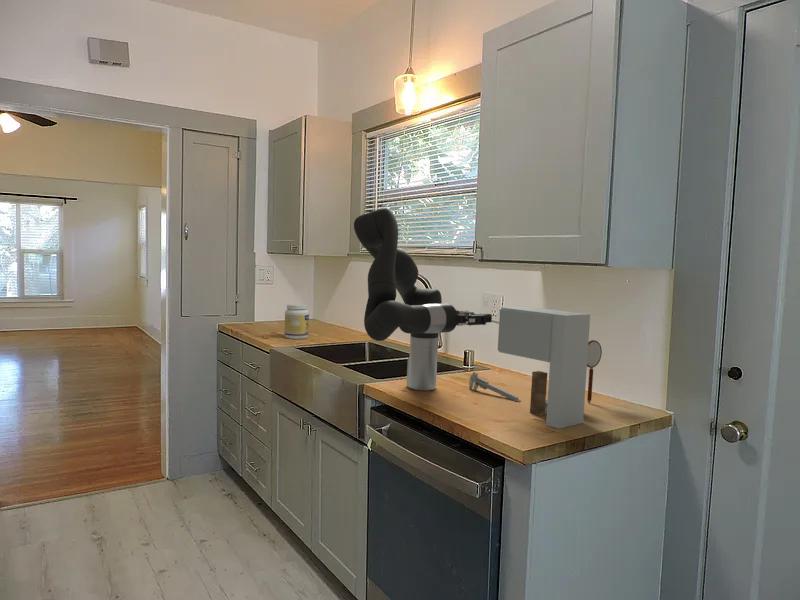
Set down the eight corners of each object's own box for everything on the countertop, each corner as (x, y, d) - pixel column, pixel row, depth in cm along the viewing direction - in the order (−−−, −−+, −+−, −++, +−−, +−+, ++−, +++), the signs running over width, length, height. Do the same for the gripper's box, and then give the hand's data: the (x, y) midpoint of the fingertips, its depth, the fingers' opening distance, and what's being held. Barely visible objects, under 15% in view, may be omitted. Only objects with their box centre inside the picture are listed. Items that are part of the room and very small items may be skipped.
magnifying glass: (582, 405, 178) (586, 341, 176) (578, 404, 179) (582, 340, 178) (599, 402, 183) (604, 339, 181) (595, 401, 184) (599, 339, 183)
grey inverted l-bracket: (494, 409, 169) (499, 307, 166) (520, 404, 176) (526, 306, 174) (557, 429, 152) (564, 315, 149) (583, 422, 159) (590, 314, 156)
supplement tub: (309, 339, 290) (310, 306, 289) (284, 339, 287) (285, 305, 286) (307, 336, 302) (308, 304, 300) (284, 335, 299) (284, 303, 298)
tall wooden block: (529, 412, 167) (532, 371, 166) (547, 409, 172) (549, 369, 171) (538, 415, 165) (540, 373, 164) (555, 411, 170) (558, 371, 169)
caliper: (468, 390, 194) (469, 371, 194) (470, 389, 195) (471, 371, 194) (519, 402, 179) (520, 382, 179) (521, 402, 180) (522, 382, 180)
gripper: (455, 306, 143) (499, 305, 153) (417, 301, 154) (461, 300, 164) (453, 336, 143) (498, 333, 153) (416, 329, 154) (460, 326, 164)
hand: (479, 316), depth 158 cm, fingers open, 8 cm apart
